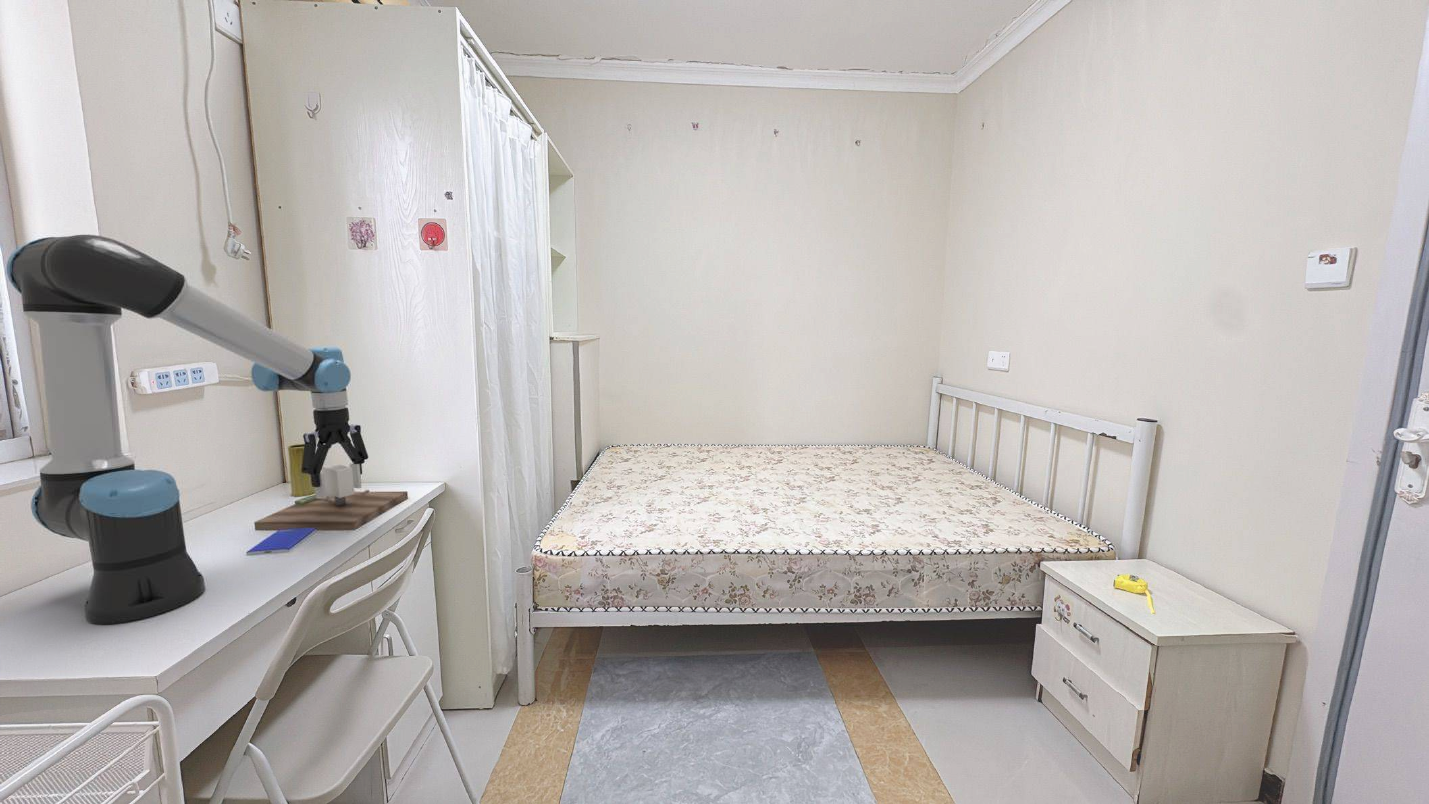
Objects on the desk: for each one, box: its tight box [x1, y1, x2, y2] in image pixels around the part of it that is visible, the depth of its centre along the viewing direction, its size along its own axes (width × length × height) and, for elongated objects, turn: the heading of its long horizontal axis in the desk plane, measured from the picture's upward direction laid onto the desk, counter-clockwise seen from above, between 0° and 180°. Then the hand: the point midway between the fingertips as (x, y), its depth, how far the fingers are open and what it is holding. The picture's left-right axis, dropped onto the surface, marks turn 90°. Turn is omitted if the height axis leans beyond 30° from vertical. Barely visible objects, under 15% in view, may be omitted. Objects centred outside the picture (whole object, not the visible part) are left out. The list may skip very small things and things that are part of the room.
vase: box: [287, 443, 315, 497], centre depth 163 cm, size 6×6×14 cm
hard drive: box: [245, 528, 317, 556], centre depth 128 cm, size 2×8×12 cm
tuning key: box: [321, 463, 356, 506], centre depth 148 cm, size 16×4×10 cm, turn 58°
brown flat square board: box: [253, 489, 409, 531], centre depth 147 cm, size 24×24×3 cm
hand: (339, 492), depth 147 cm, fingers open, 9 cm apart
